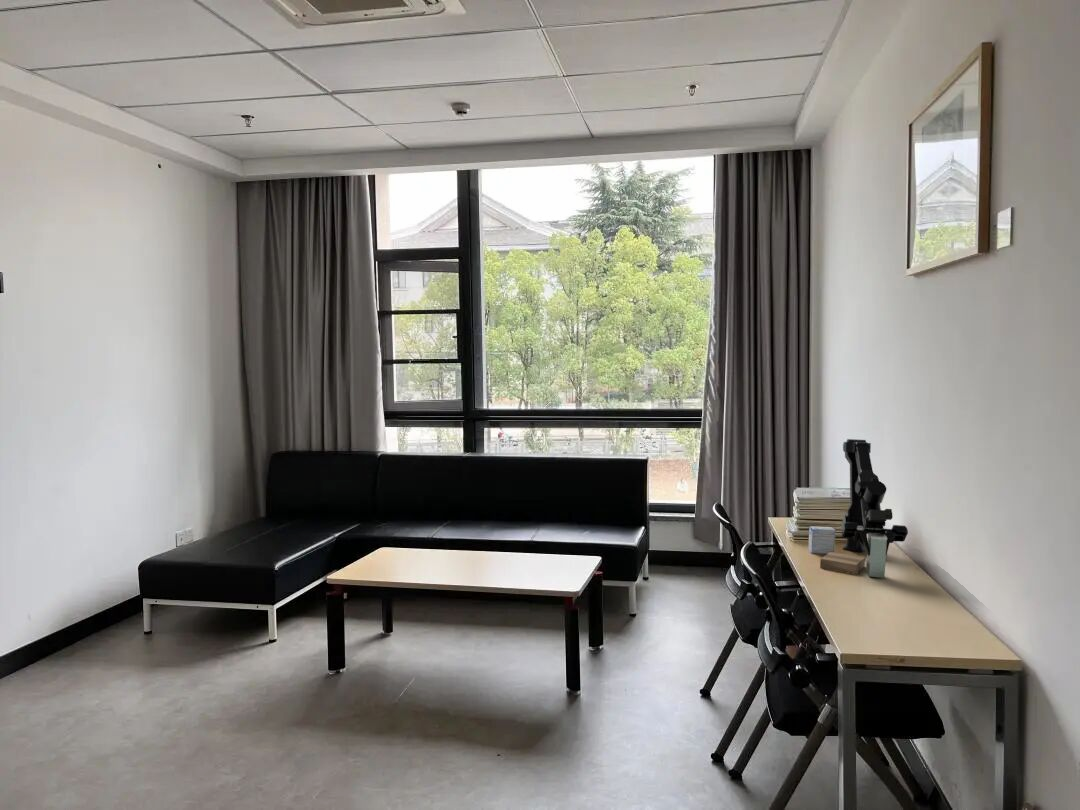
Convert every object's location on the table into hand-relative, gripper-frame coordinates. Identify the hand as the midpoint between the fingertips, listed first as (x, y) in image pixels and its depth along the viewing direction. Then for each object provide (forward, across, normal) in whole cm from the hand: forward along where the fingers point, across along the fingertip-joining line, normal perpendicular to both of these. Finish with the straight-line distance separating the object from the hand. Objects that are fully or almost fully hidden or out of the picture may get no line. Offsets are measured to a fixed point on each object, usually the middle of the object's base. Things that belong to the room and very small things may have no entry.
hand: (877, 555), depth 240 cm
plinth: (-2, -8, +12) cm, 15 cm away
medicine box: (-14, -12, +24) cm, 31 cm away
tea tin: (+4, 0, +6) cm, 7 cm away
